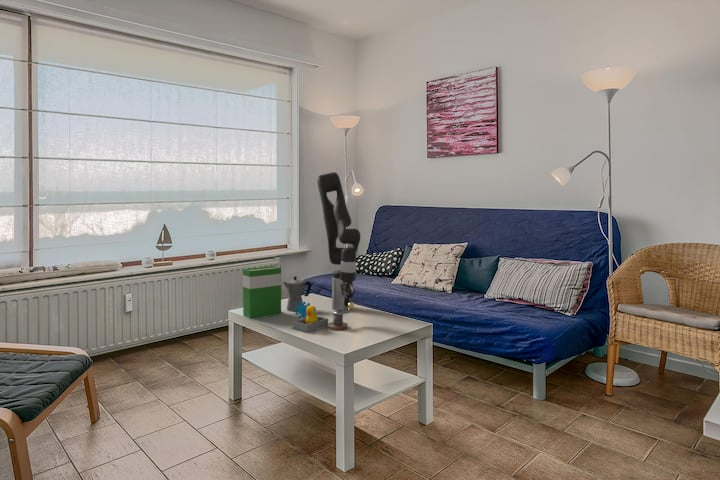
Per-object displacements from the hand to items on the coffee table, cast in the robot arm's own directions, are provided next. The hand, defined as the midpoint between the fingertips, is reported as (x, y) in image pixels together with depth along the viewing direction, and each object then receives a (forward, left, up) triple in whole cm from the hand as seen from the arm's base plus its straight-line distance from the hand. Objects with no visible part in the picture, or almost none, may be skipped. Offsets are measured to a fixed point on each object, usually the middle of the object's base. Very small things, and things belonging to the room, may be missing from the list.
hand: (346, 305), depth 232 cm
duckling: (+17, -8, -8) cm, 20 cm away
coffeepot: (-3, -37, -9) cm, 38 cm away
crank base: (+9, +2, -9) cm, 12 cm away
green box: (+16, -43, -9) cm, 47 cm away
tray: (+17, -8, -9) cm, 20 cm away
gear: (+6, -22, -9) cm, 25 cm away
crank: (+5, +3, -2) cm, 6 cm away
